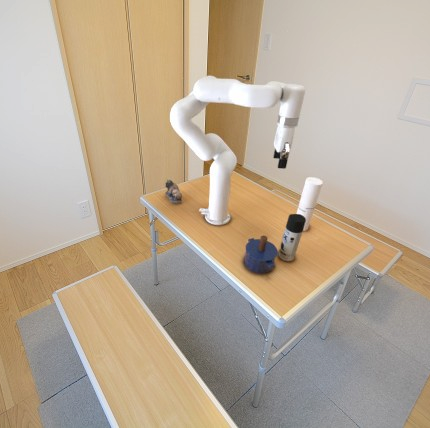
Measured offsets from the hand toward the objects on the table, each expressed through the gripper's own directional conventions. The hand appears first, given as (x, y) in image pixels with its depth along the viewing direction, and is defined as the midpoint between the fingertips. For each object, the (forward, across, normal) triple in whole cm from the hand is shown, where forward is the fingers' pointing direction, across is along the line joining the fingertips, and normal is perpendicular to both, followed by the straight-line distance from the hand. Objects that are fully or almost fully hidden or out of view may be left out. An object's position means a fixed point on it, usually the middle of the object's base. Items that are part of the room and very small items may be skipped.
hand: (279, 163), depth 114 cm
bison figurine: (+34, -21, -47) cm, 62 cm away
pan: (+34, +23, -6) cm, 42 cm away
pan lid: (+27, +23, -6) cm, 36 cm away
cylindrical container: (+34, -4, +18) cm, 39 cm away
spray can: (+34, +18, +6) cm, 39 cm away
